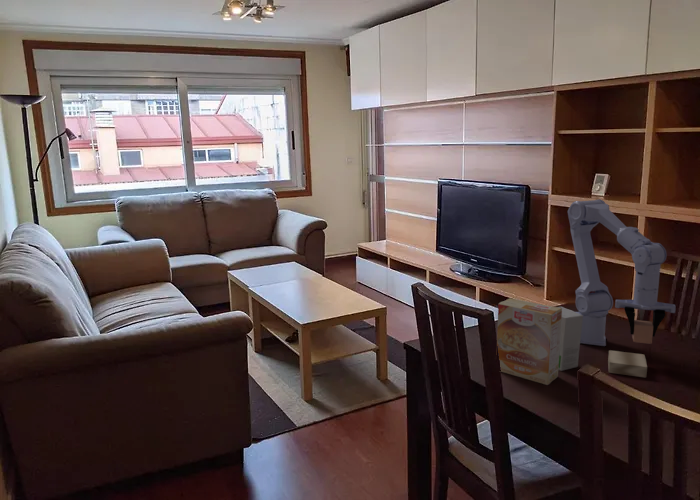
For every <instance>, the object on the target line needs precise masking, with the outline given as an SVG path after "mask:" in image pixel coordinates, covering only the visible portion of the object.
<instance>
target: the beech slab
mask: <svg viewBox="0 0 700 500" xmlns="http://www.w3.org/2000/svg"><path fill="white" fill-rule="evenodd" d="M607 357H608V358H607V359H608V360H607V364H608V366H607V367H608V373H610V374H616V375H617V374H618V375H624V376H625V375H626V376H630V377H631V376H632V377H638V378H647V374H648V373H647V372H648V365H647V359H646V356H645V354H642V353H634V352H626V351H625V352H624V351H619V350H611V349H610V350H608V356H607Z"/></svg>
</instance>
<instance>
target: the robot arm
mask: <svg viewBox="0 0 700 500" xmlns="http://www.w3.org/2000/svg"><path fill="white" fill-rule="evenodd" d="M567 217H568V221H569V226H570V234H571V239H572V244H573V248H574V249H573V250H574V254H575V258H576V263H577V268H578V274H579V278H580V279H579V280H580V286H579V287H577V288H576V289H575V307H576V309H577V311H575V312H576V313H578V314H581V315H583V320H582V330H581V339H580V344H584V345H591V346H592V345H593V346H599V347H600V346H601V347H605V346H607V340H606V335H605V333H606V321H607V315H609V311H610V310H612V308H613V306H614V307H615V308H616V309H620V308H621V309H622V308H623V309H624V312H625V315H626V318H627V320H628V323H629V332H630V335H632V334H633V335H634V320H636V318H635V317H636V312H635V311H636V310H645V311H652V324H653V336H652V338H653V337H655V335H656V332H657V330H658V328H659V326H660V324H661V322H662V321H663V320H664V319H665V317H666V312H667V313H671V314H675V313H676V308H677V307H676V304H673V303H668V302H666V303H665V302H661V301H658V295H659V284H660V273H661V265H662V264H664V263H665V262H666V260H667V250H666V248H665V246H664V245H662V244H661V243H659V242H654V241H651V240H650V239H649V238H648V237H646V236H645V235H644V234H642V233H641V232H640V230H639V228H637V227H633V226H626V225H625V223H624V222H623V221H621V220H620V219H619V218H618V217H617V216H616V215H615V214H614V213H613V212H612V211H611V210H610V205H609V204H608V203H606V202H605V201H604V200H602V199H601V198H600V199H599V198H598V199H593V200H592V199H591V200H575V201H572V203H571V204H570V206H569V207H568V210H567ZM599 223H600V224H602V225H603V226H604V227H605V228H607V229H608V230H609V231H611V232H612V233H613V234H615V236H616V241H617V243H618V244H620V245H621V246H622V247H623V248H624V249H625V250H626V251H627V252H628V253H630V254H631V258H632V261H633V263H634V270H635V279H634V290H633V292H634V293H633V299H615V305H614V298H613V296H612V295H611V293H610V291H609V287H608V286H607V285H606V284H605V283H603V282H602V281H601V278H600V274H599V269H598V264H597V260H596V253H595V250H594V245H593V240H592V236H591V231H592V230H593V228H594V227H596V226H597V225H598V224H599Z"/></svg>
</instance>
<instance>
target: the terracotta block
mask: <svg viewBox="0 0 700 500" xmlns="http://www.w3.org/2000/svg"><path fill="white" fill-rule="evenodd" d="M652 322H653V320H652V321H650V320H641V319H634V335H633V334H631V337H632V341H633V343H641V344H648V345H649V344H650V345H652V344H653V337H652V336H653V324H652Z"/></svg>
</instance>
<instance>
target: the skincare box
mask: <svg viewBox="0 0 700 500" xmlns="http://www.w3.org/2000/svg"><path fill="white" fill-rule="evenodd" d="M556 307H557V308H562V318H561V334H560V351H559V368H558V371H561V372H563V371H565V370H566V371H567V370H570V369H574V368H578V367H579V360H580V359H579V356H580V347H581V343H580V339H581V330H582V320H583V315H581V314H578V313H576V312H577V311H574V310H571V309H568V308H565V307H564V306H556Z"/></svg>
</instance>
